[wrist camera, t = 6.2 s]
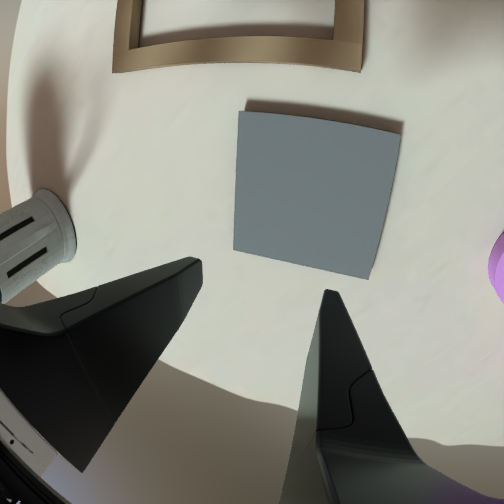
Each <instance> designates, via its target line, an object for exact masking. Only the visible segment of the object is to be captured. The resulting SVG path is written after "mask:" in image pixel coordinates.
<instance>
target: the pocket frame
mask: <svg viewBox="0 0 504 504" xmlns="http://www.w3.org/2000/svg"><path fill="white" fill-rule="evenodd" d="M141 6H142V0H118V2H117V10H116V20H115V31H114V45H113V65H112V73H124V72H130V71H137V70H143V69H151V68H159V67H168V66H178V65H190V64H206V63H277V64H293V65H305V66H315V67H324V68H332V69H340V70H347V71H353V72H359V73H361V61H362V45H363V24H364V0H335V16H334V36H333V40H327V39H316V38H304V37H285V36H237V37H218V38H205V39H195V40H186V41H178V42H171V43H164V44H158V45H152V46H146V47H141V48H138V40H139V27H140V16H141Z"/></svg>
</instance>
